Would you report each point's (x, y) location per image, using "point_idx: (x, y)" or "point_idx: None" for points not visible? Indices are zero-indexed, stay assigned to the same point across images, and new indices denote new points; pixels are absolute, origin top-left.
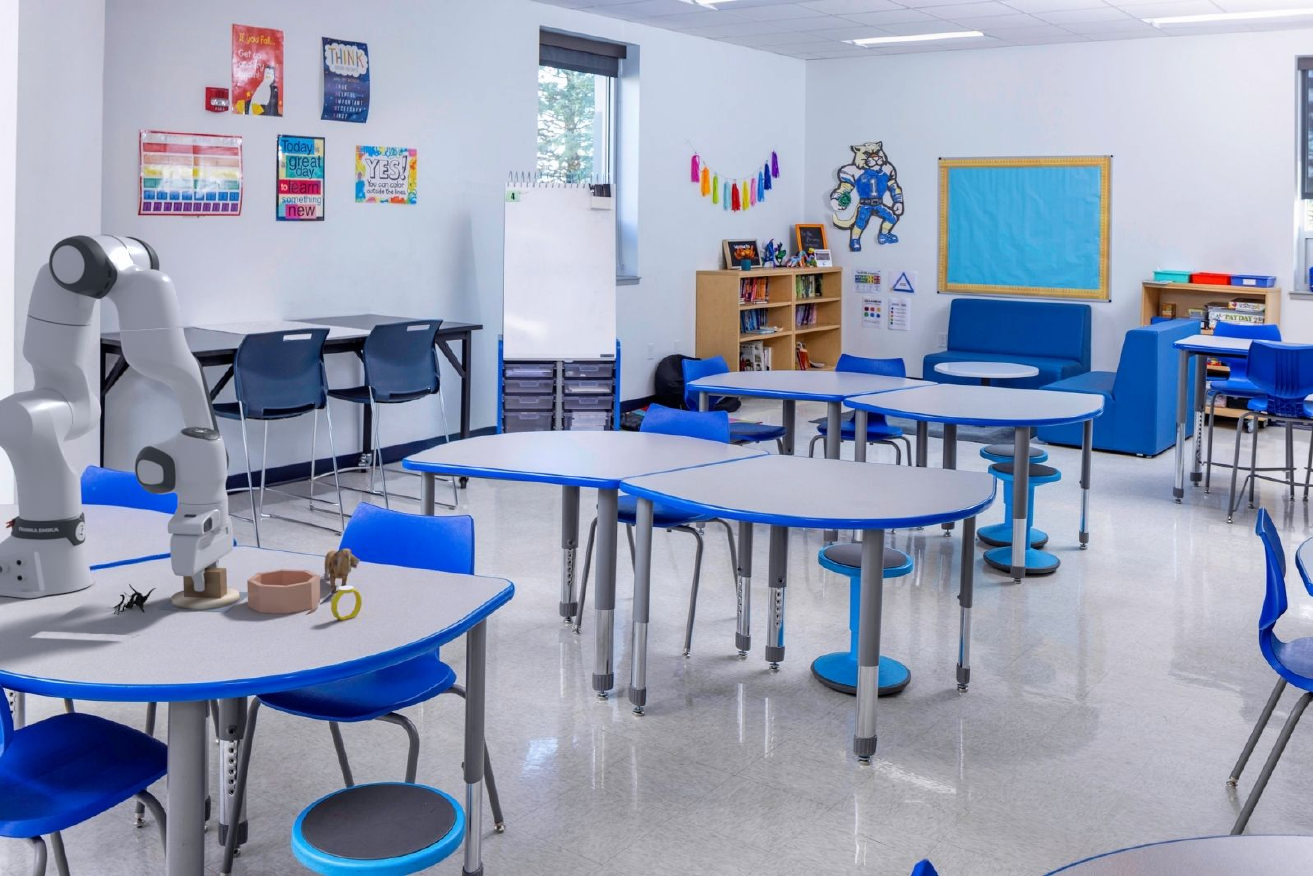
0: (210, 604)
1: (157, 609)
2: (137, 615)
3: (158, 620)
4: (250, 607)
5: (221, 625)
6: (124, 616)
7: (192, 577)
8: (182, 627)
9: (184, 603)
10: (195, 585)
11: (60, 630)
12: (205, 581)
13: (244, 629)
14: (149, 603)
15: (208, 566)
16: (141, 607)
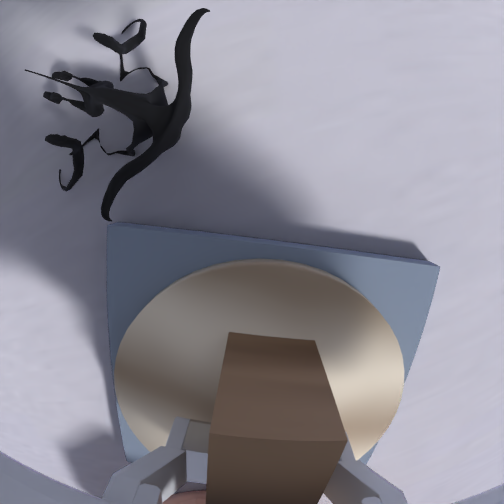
0: (138, 438)
1: (107, 229)
2: (107, 142)
3: (56, 254)
4: (185, 501)
5: (67, 436)
6: None
7: (133, 465)
8: (21, 348)
9: (121, 356)
10: (169, 437)
11: (2, 10)
12: (195, 480)
13: (63, 470)
14: (299, 126)
15: (364, 497)
16: (74, 165)
